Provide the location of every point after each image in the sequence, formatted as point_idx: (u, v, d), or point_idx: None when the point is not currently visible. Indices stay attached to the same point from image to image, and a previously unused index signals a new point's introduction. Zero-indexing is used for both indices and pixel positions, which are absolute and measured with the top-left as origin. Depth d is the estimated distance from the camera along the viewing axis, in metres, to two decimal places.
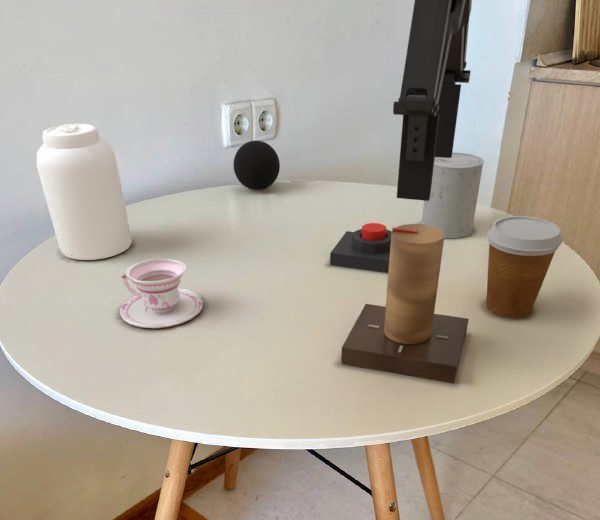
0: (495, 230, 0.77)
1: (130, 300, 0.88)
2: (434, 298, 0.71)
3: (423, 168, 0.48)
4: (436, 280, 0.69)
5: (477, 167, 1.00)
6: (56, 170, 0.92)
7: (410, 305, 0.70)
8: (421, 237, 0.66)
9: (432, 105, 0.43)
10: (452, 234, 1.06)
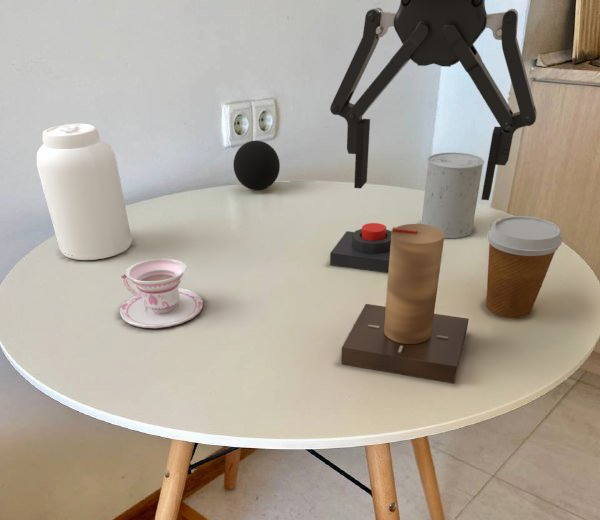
0: (495, 230, 0.77)
1: (130, 300, 0.88)
2: (434, 298, 0.71)
3: (494, 169, 0.61)
4: (436, 280, 0.69)
5: (477, 167, 1.00)
6: (56, 170, 0.92)
7: (410, 305, 0.70)
8: (421, 237, 0.66)
9: None
10: (452, 234, 1.06)
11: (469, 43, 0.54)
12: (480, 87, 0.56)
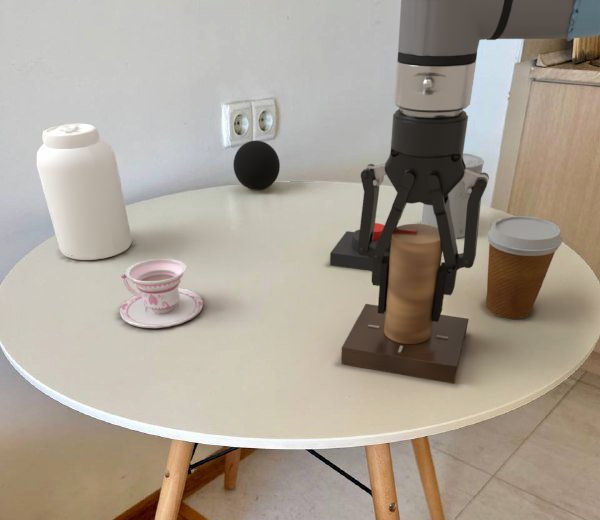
0: (495, 230, 0.77)
1: (130, 300, 0.88)
2: (434, 298, 0.71)
3: (443, 295, 0.72)
4: (436, 280, 0.69)
5: (477, 167, 1.00)
6: (56, 170, 0.92)
7: (410, 305, 0.70)
8: (421, 237, 0.66)
9: None
10: None
11: (450, 188, 0.63)
12: (440, 230, 0.65)
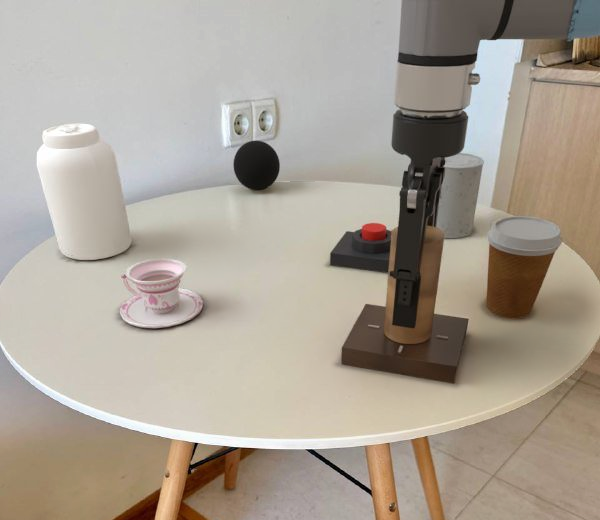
0: (495, 230, 0.77)
1: (130, 300, 0.88)
2: None
3: None
4: None
5: (477, 167, 1.00)
6: (56, 170, 0.92)
7: None
8: (429, 232, 0.68)
9: None
10: (452, 234, 1.06)
11: None
12: (433, 217, 0.69)
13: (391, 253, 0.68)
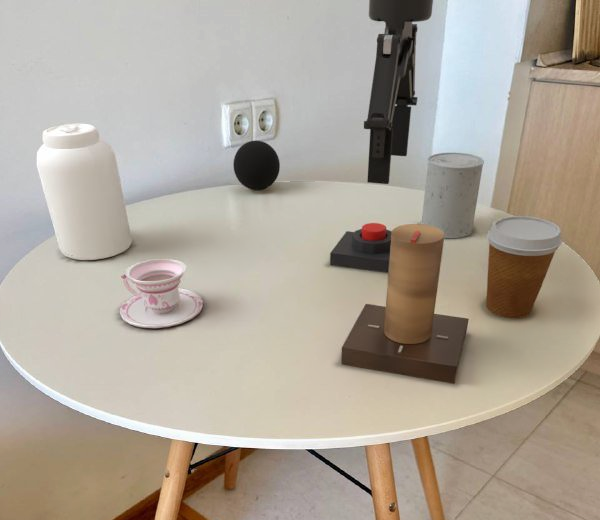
0: (495, 230, 0.77)
1: (130, 300, 0.88)
2: None
3: None
4: None
5: (477, 167, 1.00)
6: (56, 170, 0.92)
7: None
8: (429, 232, 0.68)
9: None
10: (452, 234, 1.06)
11: None
12: (409, 78, 0.79)
13: (391, 253, 0.68)
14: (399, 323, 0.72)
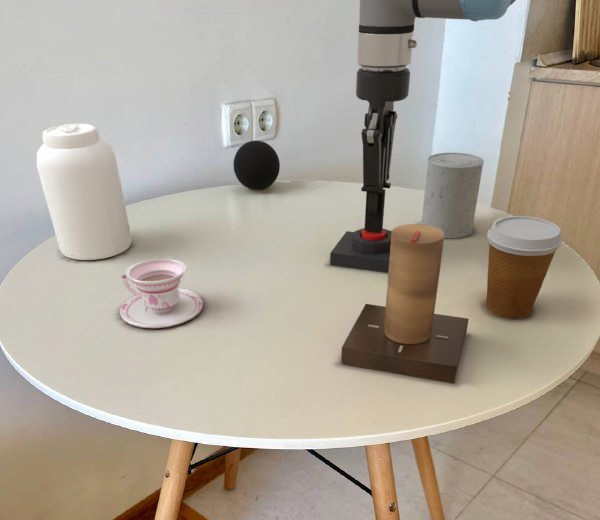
0: (495, 230, 0.77)
1: (130, 300, 0.88)
2: None
3: None
4: None
5: (477, 167, 1.00)
6: (56, 170, 0.92)
7: None
8: (429, 232, 0.68)
9: None
10: (452, 234, 1.06)
11: None
12: (387, 155, 0.91)
13: (391, 253, 0.68)
14: (399, 323, 0.72)
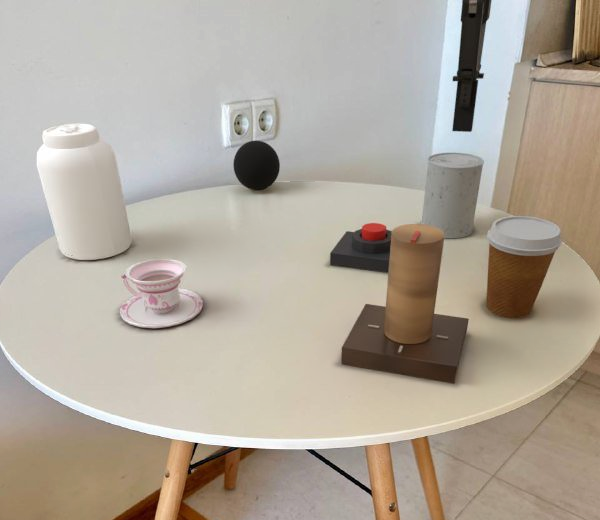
0: (495, 230, 0.77)
1: (130, 300, 0.88)
2: None
3: None
4: None
5: (477, 167, 1.00)
6: (56, 170, 0.92)
7: None
8: (429, 232, 0.68)
9: None
10: (452, 234, 1.06)
11: None
12: (482, 37, 0.80)
13: (391, 253, 0.68)
14: (399, 323, 0.72)
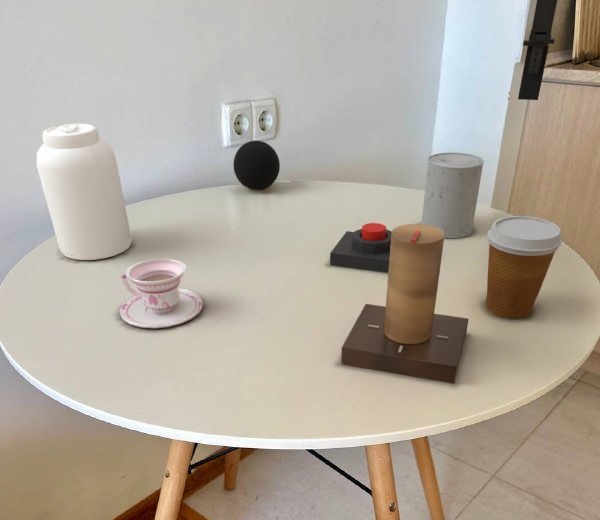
0: (495, 230, 0.77)
1: (130, 300, 0.88)
2: None
3: None
4: None
5: (477, 167, 1.00)
6: (56, 170, 0.92)
7: None
8: (429, 232, 0.68)
9: None
10: (452, 234, 1.06)
11: None
12: None
13: (391, 253, 0.68)
14: (399, 323, 0.72)
